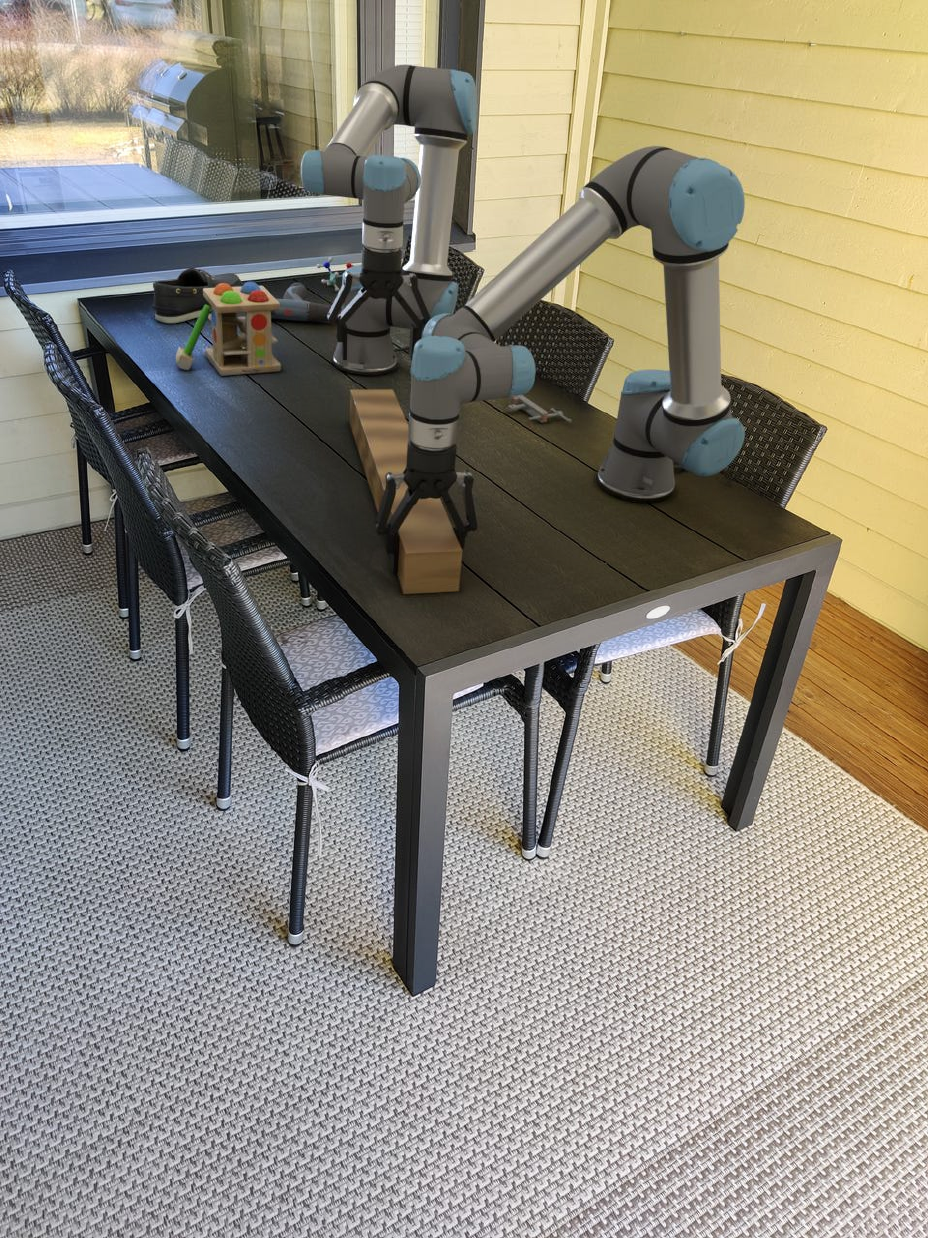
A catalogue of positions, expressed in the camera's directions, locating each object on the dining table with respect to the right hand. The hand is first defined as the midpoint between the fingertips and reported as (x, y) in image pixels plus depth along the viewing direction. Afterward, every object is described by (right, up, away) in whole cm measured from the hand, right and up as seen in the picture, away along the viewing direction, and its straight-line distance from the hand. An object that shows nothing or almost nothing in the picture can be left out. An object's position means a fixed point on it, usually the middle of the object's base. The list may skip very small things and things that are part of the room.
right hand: (423, 567), depth 162 cm
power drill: (-36, +75, +105) cm, 134 cm away
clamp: (+23, +37, +59) cm, 73 cm away
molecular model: (-31, +89, +127) cm, 159 cm away
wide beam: (-6, +15, +21) cm, 27 cm away
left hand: (-10, +43, +33) cm, 56 cm away
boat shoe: (-64, +75, +102) cm, 142 cm away
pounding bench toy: (-49, +51, +69) cm, 99 cm away
